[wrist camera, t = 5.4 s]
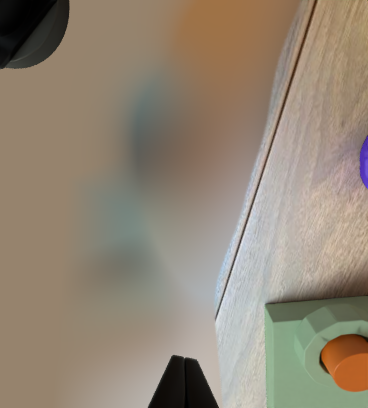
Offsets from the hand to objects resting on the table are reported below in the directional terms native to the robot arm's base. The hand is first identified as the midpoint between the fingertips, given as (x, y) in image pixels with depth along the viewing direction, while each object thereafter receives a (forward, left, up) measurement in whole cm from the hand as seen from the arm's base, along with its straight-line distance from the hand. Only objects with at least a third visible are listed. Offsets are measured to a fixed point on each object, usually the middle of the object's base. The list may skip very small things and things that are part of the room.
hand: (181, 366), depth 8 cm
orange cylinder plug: (+3, -15, -9) cm, 17 cm away
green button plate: (0, -19, -12) cm, 23 cm away
